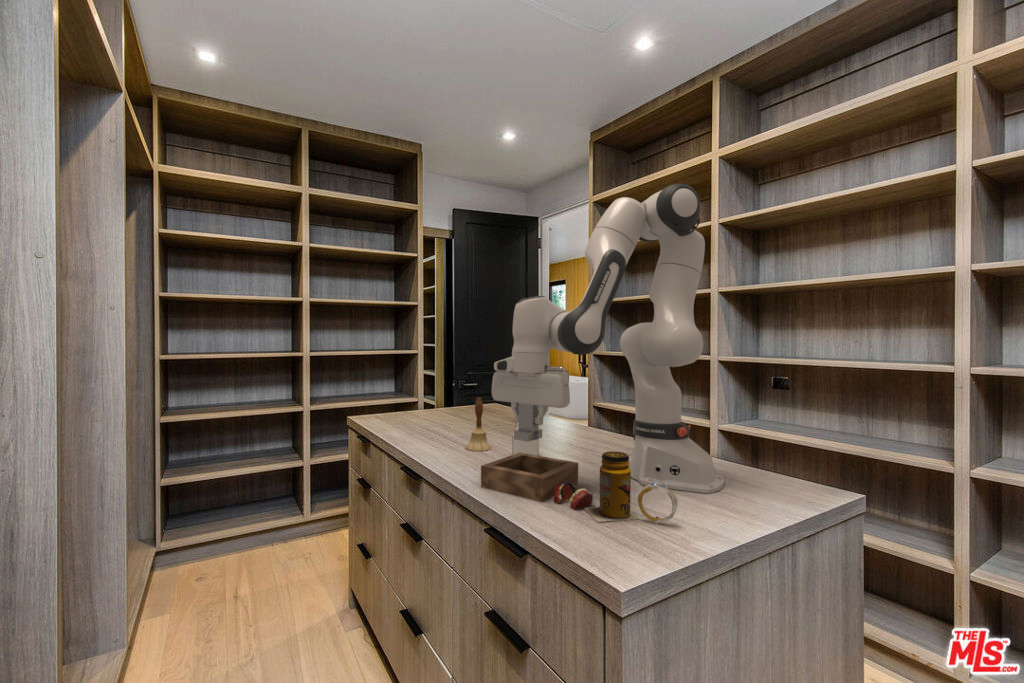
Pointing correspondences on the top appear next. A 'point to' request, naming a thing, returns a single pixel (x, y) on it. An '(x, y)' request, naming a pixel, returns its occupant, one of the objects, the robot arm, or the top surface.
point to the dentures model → (572, 496)
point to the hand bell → (478, 432)
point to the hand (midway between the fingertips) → (528, 423)
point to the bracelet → (657, 486)
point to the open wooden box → (528, 475)
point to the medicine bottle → (525, 446)
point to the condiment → (614, 489)
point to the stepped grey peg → (527, 423)
